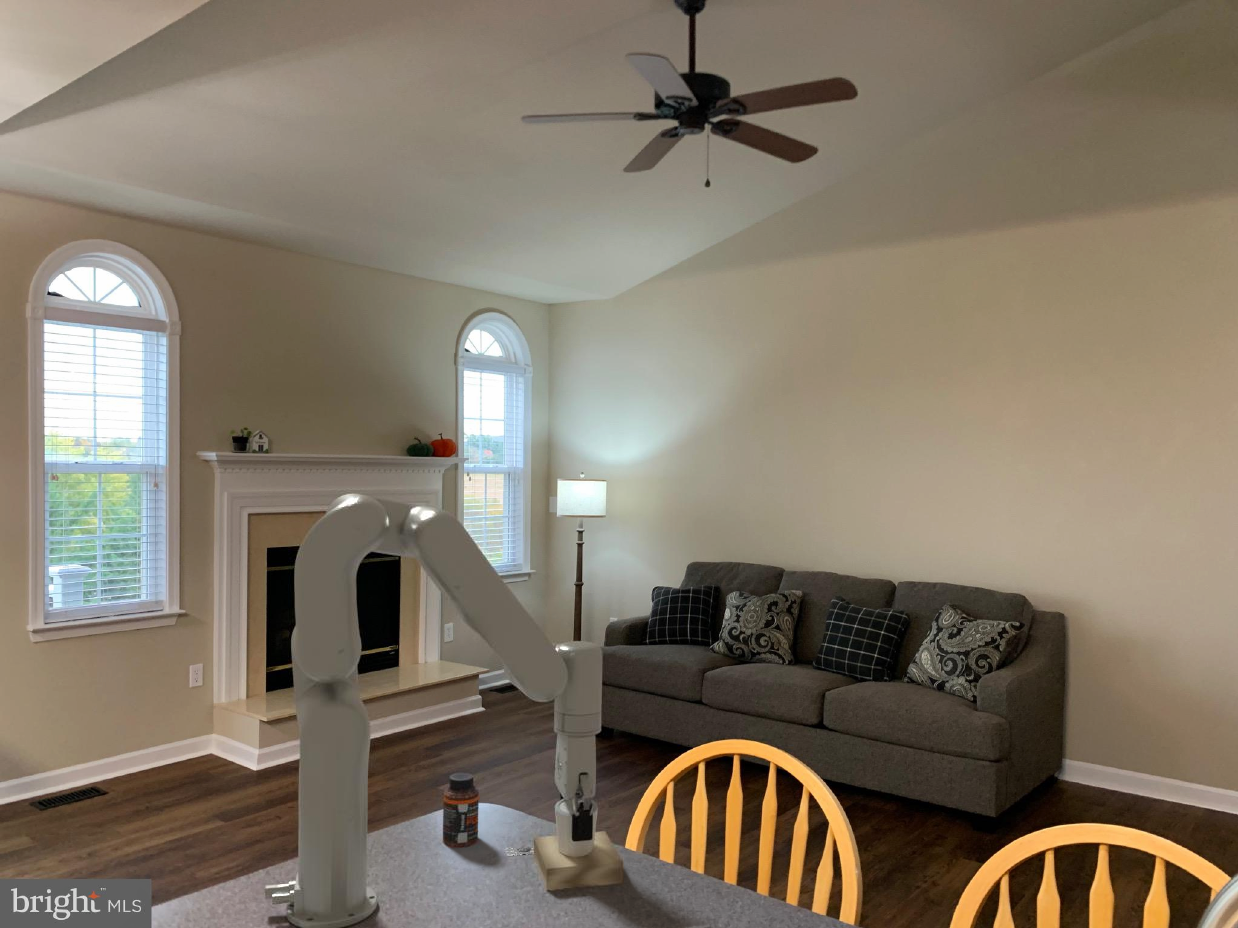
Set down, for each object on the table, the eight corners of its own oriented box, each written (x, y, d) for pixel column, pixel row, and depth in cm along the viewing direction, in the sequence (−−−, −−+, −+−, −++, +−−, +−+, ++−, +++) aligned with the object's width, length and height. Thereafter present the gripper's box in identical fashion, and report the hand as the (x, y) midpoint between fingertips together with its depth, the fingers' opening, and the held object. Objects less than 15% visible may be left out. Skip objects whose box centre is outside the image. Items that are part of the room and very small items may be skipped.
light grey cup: (585, 862, 146) (586, 819, 145) (546, 852, 149) (547, 810, 148) (604, 842, 152) (605, 800, 151) (566, 833, 155) (566, 792, 154)
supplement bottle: (471, 850, 157) (472, 783, 157) (437, 848, 158) (438, 780, 158) (482, 836, 163) (483, 771, 163) (449, 834, 164) (450, 769, 164)
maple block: (546, 894, 143) (546, 868, 143) (533, 861, 155) (533, 837, 155) (622, 886, 146) (623, 860, 146) (604, 854, 158) (604, 830, 158)
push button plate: (507, 857, 155) (507, 855, 155) (504, 847, 159) (504, 845, 159) (543, 854, 156) (543, 852, 156) (539, 844, 160) (539, 842, 160)
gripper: (545, 707, 158) (543, 809, 158) (564, 737, 141) (562, 852, 141) (588, 705, 159) (587, 806, 160) (613, 735, 143) (611, 847, 143)
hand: (575, 827), depth 150 cm, fingers open, 9 cm apart
